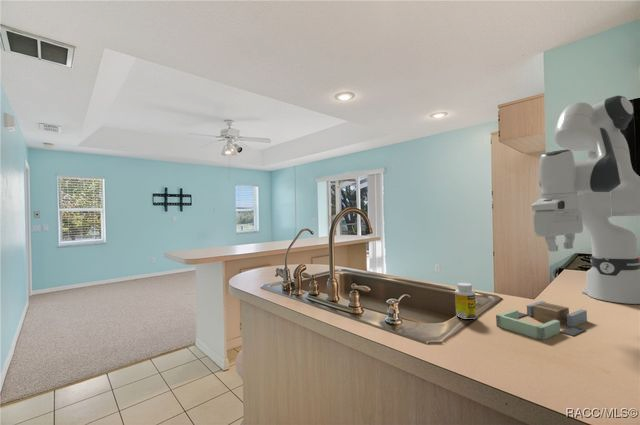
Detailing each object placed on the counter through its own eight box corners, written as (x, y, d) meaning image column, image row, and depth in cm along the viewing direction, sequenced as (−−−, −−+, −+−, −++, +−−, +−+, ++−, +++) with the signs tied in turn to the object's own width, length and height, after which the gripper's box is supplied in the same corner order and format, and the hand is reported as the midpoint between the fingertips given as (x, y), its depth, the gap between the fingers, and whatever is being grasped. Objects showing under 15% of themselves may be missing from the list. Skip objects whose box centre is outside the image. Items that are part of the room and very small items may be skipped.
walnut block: (545, 315, 89) (545, 302, 90) (569, 321, 84) (568, 307, 84) (534, 319, 87) (533, 305, 87) (557, 326, 81) (557, 311, 82)
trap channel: (531, 308, 96) (531, 298, 96) (599, 324, 81) (599, 313, 81) (487, 322, 86) (486, 312, 86) (555, 344, 70) (554, 331, 70)
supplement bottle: (469, 322, 87) (468, 287, 87) (452, 317, 91) (450, 284, 91) (480, 318, 90) (478, 284, 90) (462, 313, 94) (460, 281, 94)
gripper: (564, 203, 97) (566, 246, 97) (528, 205, 88) (530, 252, 87) (588, 202, 91) (590, 247, 91) (552, 203, 82) (555, 254, 82)
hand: (561, 249), depth 89 cm, fingers open, 7 cm apart
